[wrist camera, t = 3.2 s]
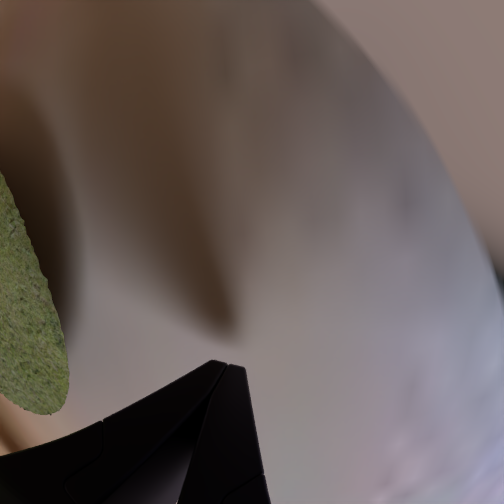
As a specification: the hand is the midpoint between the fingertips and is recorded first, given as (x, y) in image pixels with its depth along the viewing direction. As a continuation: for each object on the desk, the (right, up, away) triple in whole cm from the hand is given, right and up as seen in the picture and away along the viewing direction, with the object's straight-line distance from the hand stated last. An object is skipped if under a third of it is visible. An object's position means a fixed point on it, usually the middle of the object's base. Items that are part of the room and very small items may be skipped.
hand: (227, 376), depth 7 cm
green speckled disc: (-10, +2, +3) cm, 10 cm away
